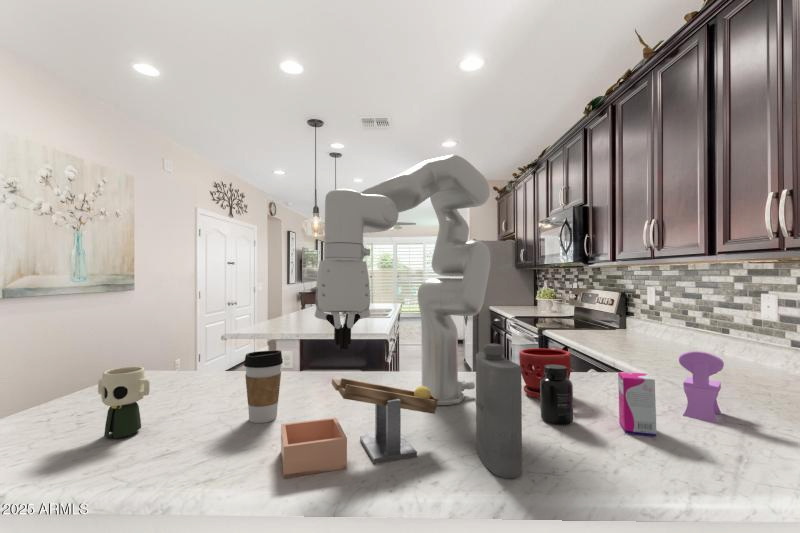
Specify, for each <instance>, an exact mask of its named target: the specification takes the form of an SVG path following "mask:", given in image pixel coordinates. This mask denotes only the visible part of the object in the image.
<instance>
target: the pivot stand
mask: <svg viewBox="0 0 800 533" xmlns="http://www.w3.org/2000/svg"><path fill="white" fill-rule="evenodd" d="M374 405H375V406H374V407H375V408H374V412H375V413H374V415H375V417H374V420H375V422H374V423H375V425H374V426H375V427H374V434H366V435H361V436H359V437H360V438H359V441H360V443H361V444H362V446H363V448H364V449H365V451H366V453H367V455H368V456H369V458H370V460H371V461H372V463H373V464H378V463H384V462H390V461H392V462H393V461H397V460H404V459H410V458H416V457H418V451H416V449H415V448H414V447H413V446H412V444H411V443H410V442H409V441H408V440H407V439H406V438H405V437H404V436H403V434H402V433H401V425H402V424H401V418H402V417H401V411H402V410H401V409H402V408H401V400H400V399H391V400H386V406H384V405H378V404H374Z"/></svg>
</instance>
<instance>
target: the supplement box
mask: <svg viewBox="0 0 800 533" xmlns="http://www.w3.org/2000/svg"><path fill="white" fill-rule="evenodd" d="M617 374H618V378H617V380H618V382H617V383H618V384H617V385H618V411H619V412H618V417H619V418H618V420H619V421H618V422H619V425H620V427H621V428H622V430H623V432H624V434H626V433H629V434H628V435H636V434H637V436H645V437H646V436H647V437H655V438H656V437H657V408H656V406H657V405H656V379H655V378H653V377H652V376H651V375H649V374H648V373H644V372H642V373H640V372H625V371H618V373H617Z"/></svg>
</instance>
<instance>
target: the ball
mask: <svg viewBox="0 0 800 533" xmlns="http://www.w3.org/2000/svg"><path fill="white" fill-rule="evenodd" d="M414 391H415V392H414V396H415V397H420V398H426V399H430V396H431V394H430V391H429V389H428V388H427V387H425V386H422V385H419V386H418V387H416V388H415V390H414Z"/></svg>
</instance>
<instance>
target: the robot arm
mask: <svg viewBox="0 0 800 533" xmlns="http://www.w3.org/2000/svg"><path fill="white" fill-rule="evenodd" d="M490 191H491V190H490V185H489V182H488V180H487V178H486V177H485V175H483V173H482V172H480V171H479V170H478V169H477V168H476V167H475V166H474V165H473V164H471V163H470V162H469V161H468V160H467V159H466V158H464V157H462V156H460V155H458V154H450V155H445V156H440V157H436V158H431V159H427V160H424V161H422V162H419V163H418V164H416V165H414V166H412V167H411V168H409V169H407V170H405V171H403V172H402V173H400V174H398V175H396V176H394V177H391V178H389V179H386V180H384V181H382V182H380V183H377V184H375V185H373V186H370V187H368V188H365V189H363V190H360V191H357V190H353V189H348V188H341V189H340V188H338V189H337V188H336V189H333V190H329V191H328V193H326V195H325V200H324V245H323V246H324V248H323V249H324V251H323V259H322V260H320V261H319V264H318V269H317V277H316V283H315V284H316V287H315V308H316V309H315V312H314V317H315V318H316V319H320V320H323V321H324V320H325V321H327V322H328V323H329V324H330V325H331V326H332V327H333V330H334V331H333V337H334V338H333V342H334V343H333V344H334V346H336V348H337V349H338V350H340V351H341V350H349V345H351V343H352V328H353V327H354V325H355V324H356V323H358V321H359V320H362V319H365V318H369V317H370V316H371V312H370V305H371V304H370V303H371V293H370V292H371V291H370V290H371V289H370V279H369V278H370V277H369V273H368V272H369V271H368V265H367V261H365V260H364V258H365V257H367V256H368V257H369V256H370V255H371V249H370V248H368V249H367V248H366V247H365V245H364V234H367V233H370V234H371V233H380V232H386V231H388V230H390V229H392V228H393V227H394V226H396V224H397V222H398V220H399V214H400V213H402V212H407V211H410V210H412V209H414V208H416V207H418V206H419V205H421V204H422V203H424V202H425V201H426V200H427V199H429V198H430V204H431V206H432V207H433V210H434V212H435V215H436V218H437V221H438V232H437V237H436V241H435V244H434V245H435V246H434V249H433V253H432V258H431V259H432V260H431V268H432V270H433V272H434V273H435V274H436V275H439V276H443V277H437V278H434V277H433V278H429V279H427V280H425V281H423V282H422V283H421V284H420V286H419V287H418V290H417V302H418V307H419V308H418V309H419V313H420V320H421V323H420V325H421V326H420V327H421V386H425V387H427V388H428V389H429V391H430V394H431V395H433V396H434V397H436V398H437V399H438V401H437V405H436V406H451V405H457V404H459V403H462V402H463V401H464V398H465V395H464V394H465V393H464V391H465V390H474V389H475V388H476V384H475V382H474V381H465V380H460V379H458V378H459V373H458V372H459V371H458V370H459V369H458V368H459V366H458V364H459V362H458V360H459V354H458V353H459V352H458V351H459V350H458V347H459V346H458V345H459V344H458V343H459V341H458V339H459V338H458V337H459V334H458V328H457V326H456V322H455V321H454V319H453V318H452V316H460V317H474V316H476V315H478V314H479V313H480V311H481V310H482V307H483V305H484V301H485V296H486V290H487V286H488V281H489V274H490V269H491V254H490V250H489V248H488V246H487V244H486V243H484V242H482V241H481V240H469V235H470V227H469V225H468V223H467V221H466V219H465V218H464V217H463V215H462V214H461V213H460V211H459V210H462V209H469V208H470V209H471V208H477V207H478V208H479V207H482V206H483V205H485V204H486V203H487V202H488V200H489V197H490V193H491V192H490ZM452 277H453V278H452ZM454 277H458V278H454ZM459 277H463V278H459ZM340 313H345V316H344V323H343V325H342V323H341V322H342V321H341V315H340Z"/></svg>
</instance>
